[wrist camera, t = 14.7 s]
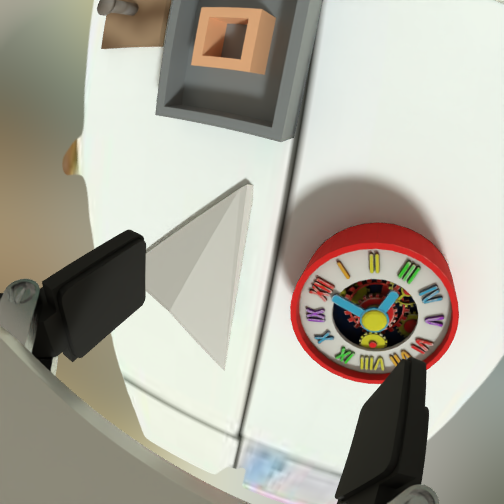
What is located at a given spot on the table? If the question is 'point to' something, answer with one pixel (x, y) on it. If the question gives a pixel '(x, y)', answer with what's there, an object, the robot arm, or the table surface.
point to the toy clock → (375, 302)
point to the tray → (239, 82)
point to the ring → (214, 33)
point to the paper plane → (203, 271)
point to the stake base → (134, 22)
